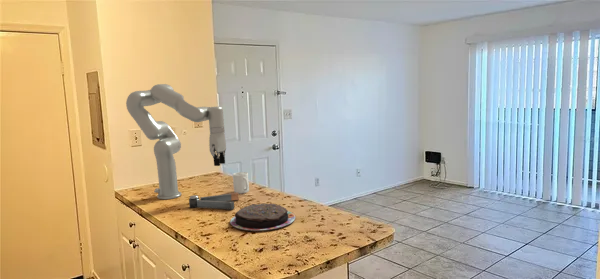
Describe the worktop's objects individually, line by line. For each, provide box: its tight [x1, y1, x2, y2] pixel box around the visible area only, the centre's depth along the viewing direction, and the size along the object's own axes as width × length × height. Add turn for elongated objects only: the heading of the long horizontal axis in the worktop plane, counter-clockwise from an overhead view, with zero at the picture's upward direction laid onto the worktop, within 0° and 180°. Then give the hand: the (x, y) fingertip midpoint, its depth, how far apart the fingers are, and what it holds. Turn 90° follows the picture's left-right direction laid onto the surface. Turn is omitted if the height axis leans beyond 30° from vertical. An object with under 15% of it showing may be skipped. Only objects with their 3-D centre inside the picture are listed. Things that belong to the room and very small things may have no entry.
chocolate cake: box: [229, 203, 296, 233], centre depth 174 cm, size 28×28×7 cm
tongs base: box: [188, 197, 235, 211], centre depth 197 cm, size 24×6×4 cm, turn 73°
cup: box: [232, 171, 250, 194], centre depth 222 cm, size 8×12×10 cm
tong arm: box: [189, 192, 239, 201], centre depth 203 cm, size 24×5×5 cm, turn 108°
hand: (219, 164), depth 214 cm, fingers open, 4 cm apart
